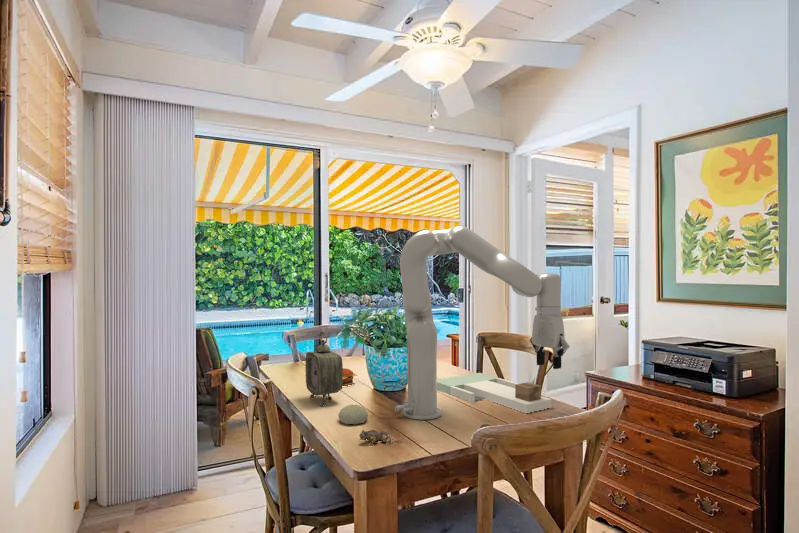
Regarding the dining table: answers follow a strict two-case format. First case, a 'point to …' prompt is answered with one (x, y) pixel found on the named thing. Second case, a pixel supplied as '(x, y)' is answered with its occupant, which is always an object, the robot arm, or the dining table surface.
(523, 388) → the walnut block
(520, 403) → the board
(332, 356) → the tabletop clock
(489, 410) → the dining table surface
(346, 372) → the hamburger
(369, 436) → the frog figurine
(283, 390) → the dining table surface
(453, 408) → the dining table surface
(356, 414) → the sea urchin shell
